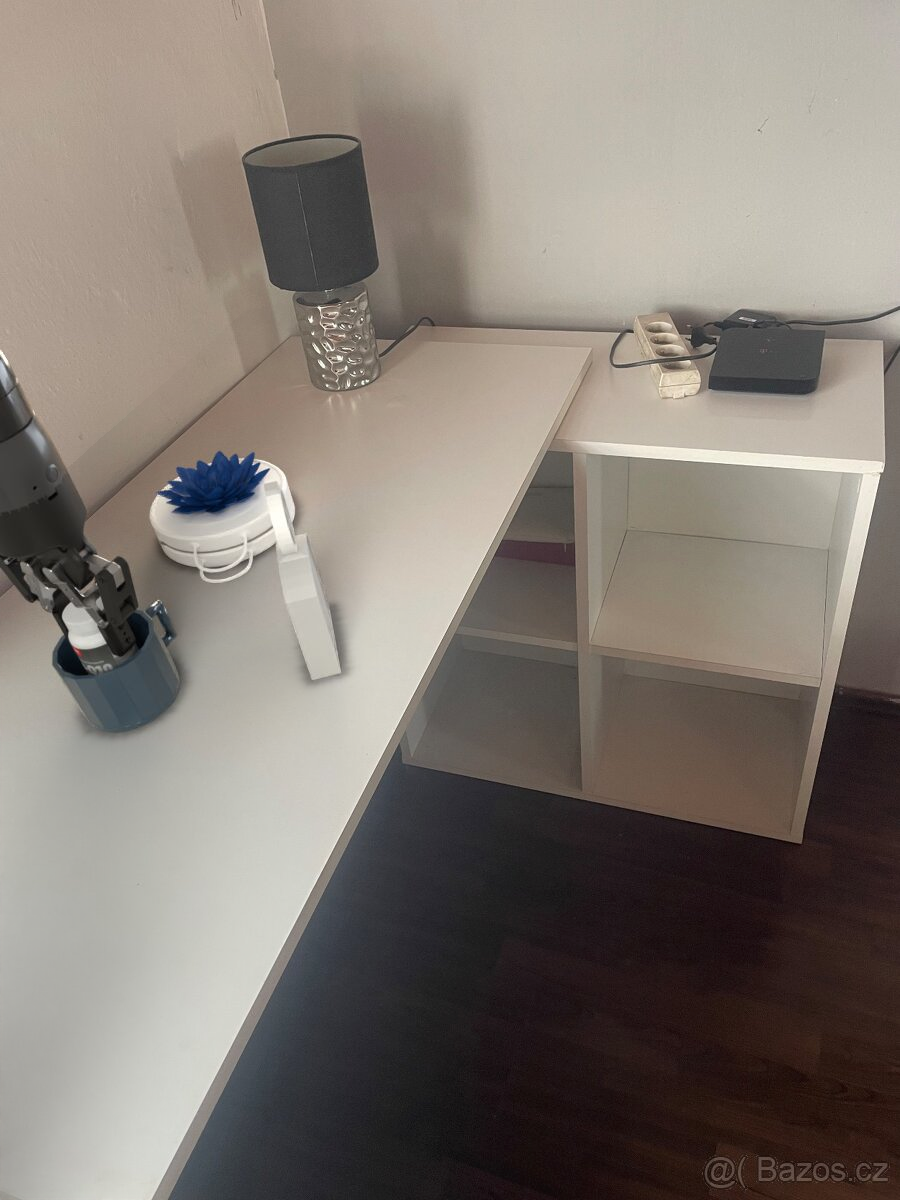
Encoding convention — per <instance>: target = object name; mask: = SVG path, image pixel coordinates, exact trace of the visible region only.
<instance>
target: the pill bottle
mask: <svg viewBox="0 0 900 1200" xmlns="http://www.w3.org/2000/svg"><path fill="white" fill-rule="evenodd" d="M96 604H97V606H98V607H99V608H100V610H101V611H102V610H103V609H104V607H103V603H102V600H101V596H100V597H99V598H98V599H97V600H96ZM62 618H63V621H64V623H65V625H66V626H67V628H68V630H69V632H68V638H69V641H70V643H71V645H72V647H73V649H74V650H75V652H76V654H77V655H78V657H79V659H80V660H81V662H82V664H83V666H84V667H85V669H86V671H87V672H88V674H89V675H96V674H99V673H102V672H105V671H109V670H112V669H115V668H116V667H118V666H119V665H121V664H123V663H124V662H126V661H128V660H129V659H131V658H132V657H133V656H134V655H135V654H136V653H137V652H138V651H139V649H138V647H137V645H136V643H135V644H134V646H133V647H132V648H131V649H130V650H129V651H128V652H127V653H126V654H125V655H124V656H122V657H119V656H116V655H113V654H112V652H111V651H110V649H109V647H108V645H107V643H106V642H105V640H104V638H103V636H102V634H101V632H100V631H99V629H98V627H97V626H98V625H97V624H96V622H95V621H94V620H93V619H92V617H91V616H90V615H89V614H88V613H87V611H86V610H85V609H84V608H76V607H75V606H74V605H73V603H72V602H71V603H69V604H68V605H67V606H66V608H65V609H64V611H63V613H62Z"/></svg>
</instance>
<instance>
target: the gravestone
mask: <svg viewBox="0 0 900 1200" xmlns="http://www.w3.org/2000/svg"><path fill="white" fill-rule="evenodd" d="M264 490H265V494H266V499H267V504H268V509H269V513H270V517H271V521H272V525H273V529H274V532H275V535H276V539H277V541H276V543H275V550H276V551H275V552H276V553H275V554H276V561H277V567H278V573H279V579H280V585H281V589H282V595H283V599H284V603H285V606H286V610H287V612H288V615H289V618H290V621H291V623H292V626H293V630H294V632H295V635H296V638H297V641H298V643H299V647H300V649H301V650H300V651H301V652H302V655H303V658H304V661H305V665H306V667H307V670H308V672H309V676H310V678H311V681H316V680H318V679H319V680H320V679H324V678H327V677H331V676H335V675H340V674H342V668H341V662H340V657H339V652H338V646H337V641H336V640H337V639H336V636H335V629H334V624H333V617H332V613H331V608H330V605H329V601H328V598H327V594H326V592H325V589H324V584H323V582H322V577H321V575H320V571H319V569H318V565H317V562H316V558H315V554H314V551H313V549H312V546H311V545H312V544H311V542H310V539H309V535H308V533H307V532H305V533H301V534H295V529H294V525H293V524H294V523H293V522H292V520H291V516H290V513H289V509H288V505H287V502H286V499H285V496H284V493H283V490H282V488H281V485H280V484H278V483H277V481H274V482H270V483H266V484H264Z"/></svg>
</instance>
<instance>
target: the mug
mask: <svg viewBox="0 0 900 1200" xmlns="http://www.w3.org/2000/svg"><path fill="white" fill-rule="evenodd" d="M154 617H157V620H158V621H159V623H160V626H161V628H162V630H163V632H164V634H163V636H162V635H161V634H160V632H159V629H158V627H157V626H156V624H155V621H154V620H153V619H154ZM126 621H127V623H128V624H129V626H130V628H131V630H132V632H133V634H134V636H135V639H136V642H135V643H136V645H137V647H138V649H139V651H138V652H137V653H136V654H135V655H134V656H133V657H132V658H131V659H129V660H128V661H126V662H124V663H123V664H121V665H119V666H118V667H116V668H115V669H112V670H109V671H105V672H102V673H99V674H96V675H89V674H88V672H87V671H86V669H85V667H84V666H83V664H82V662H81V660H80V659H79V657H78V655H77V654H76V652H75V650H74V649H73V647H72V645H71V643H70V642H69V641H68V640H67V639H66V637H65V635H64V634H63V635H61V636H60V638H59V639H58V640H57V643H56V644H55V646H54V648H53V650H52V657H51V658H52V660H51V661H52V662H51V663H52V664H51V665H52V667H53V669H54V670H55V672H56V674H57V676H58V677H59V678H60V680H61V682H62V683H63V685H64V687H65V688H66V690H67V691H68V693H69V694H70V696H71V698H72V699H73V701H74V702H75V704H76V706H77V708H78V709H79V710H80V712H81V714H82V715H83V717H84V718H85V719H86V721H87V722H88V723H89V724H90V725H91V726H92V727H93V728H95V729H97V730H99V731H102V732H107V733H122V732H128V731H132V730H135V729H138V728H141V727H143V726H145V725H147V724H149V723H151V722H153V721H154V720H156V719H157V718H159V717H160V716H161V715H162V714H164V713H165V712H166V711H167V710H168V709H169V708H170V706H172V704H173V703H174V701H175V699H176V698H177V697H178V694H179V691H180V688H181V678H180V675H179V672H178V668H177V666H176V664H175V662H174V660H173V658H172V656H171V654H170V651H169V650H168V647H169V646H170V645H171V644H172V643H173V642H174V641H175V640H176V639H177V637H178V632H177V630H176V628H175V626H174V623H173V622H172V619H171V617H170V615H169V612H168V610H167V609H166V606H165V604H164V603H163V601H162V600H160V599H155V600H154V601H153V602H151V604H149V605H148V606H147V607H146V608H145V609H144V610H141V609H137V610H136V611H134V612H133V613H132V614H131V615H130V616H129V617H128V618H127V619H126Z"/></svg>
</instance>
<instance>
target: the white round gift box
mask: <svg viewBox="0 0 900 1200" xmlns="http://www.w3.org/2000/svg"><path fill="white" fill-rule="evenodd" d="M195 465H196V467H195V468H192V467H188V468H186V467H183V466H177V467H175V470H176V473H177V475H178V477H176V478H174V479H173V480H168V481H167V484H166V486H164V487H163V488H162V489H161V490H159V491H156V492H155V494H156V497H155V498H154V499H153V501H152V504H151V506H150V509H149V521H150V523H151V526H152V528H153V530H154V533H155V535H156V537H157V543H158V544H160V546H161V549H162V550H163V552H164V554H165V555H166V556H167V557H168V558H169V559H171V560H172V561H174V562H175V563H178V564H181V565H184V566H187V567H193V568H197V569H199V576H200V578H201V580H202V581H204V582H205V583H209V584H222V583H227V582H231V581H233V580H235V579H236V580H237V579H238V578H240V577H242V576H243V575H245V574H246V573H248V571H250V569H251V567H252V565H253V557H255V556H257V555H259V554H261V553H264V552H265V551H266V550H268V549H269V548H271V547H272V546H274V545H276V541H277V539H276V535H275V532H274V529H273V525H272V521H271V517H270V513H269V509H268V504H267V499H266V494H265V490H264V484H266V483H270V482H274V481H277V483H278V484H280V485H281V488H282V490H283V493H284V496H285V499H286V502H287V505H288V509H289V513H290V516H291V520H292V523H293V522H294V519H295V517H296V516H295V515H296V506H295V503H294V499H293V497H292V494H291V490H290V487H289V483H288V479H287V477H286V475H285V473H284V471H282V470H281V468H279V467H278V466H277V465H275V464H272V463H270V462H268V461H265V460H262V459H257V458H255V452H254V451H252V452H251V453H249V454H247V456H245V458H244V457H242V458H241V457H240V458H239V456H238V454H237V453H234V454H233V455H232V456H230V457H229V458H228V457H227V456H226V455H225V453H224V452H222V451H221V450H218V451H217V452H216V453H215V455H214V456H213V458H212V461H211V462H209V463H206V462H204V461H202V460H197V461H196V464H195ZM247 560H248V564H247V566H246V567H245V568H244V569H243V570H241V571H240V572H237V573H236V574H234V575H231V576H229V577H225V578H220V579H212V578H208V577H206V576H205V575H204V573H211V574H212V573H213V574H215V573H216V574H217V573H222V572H226V571H228V570H231V569H232V568H234V567H236V566H238V565H239V564H240V563H241V562H243V561H247ZM219 567H220V568H219Z"/></svg>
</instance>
